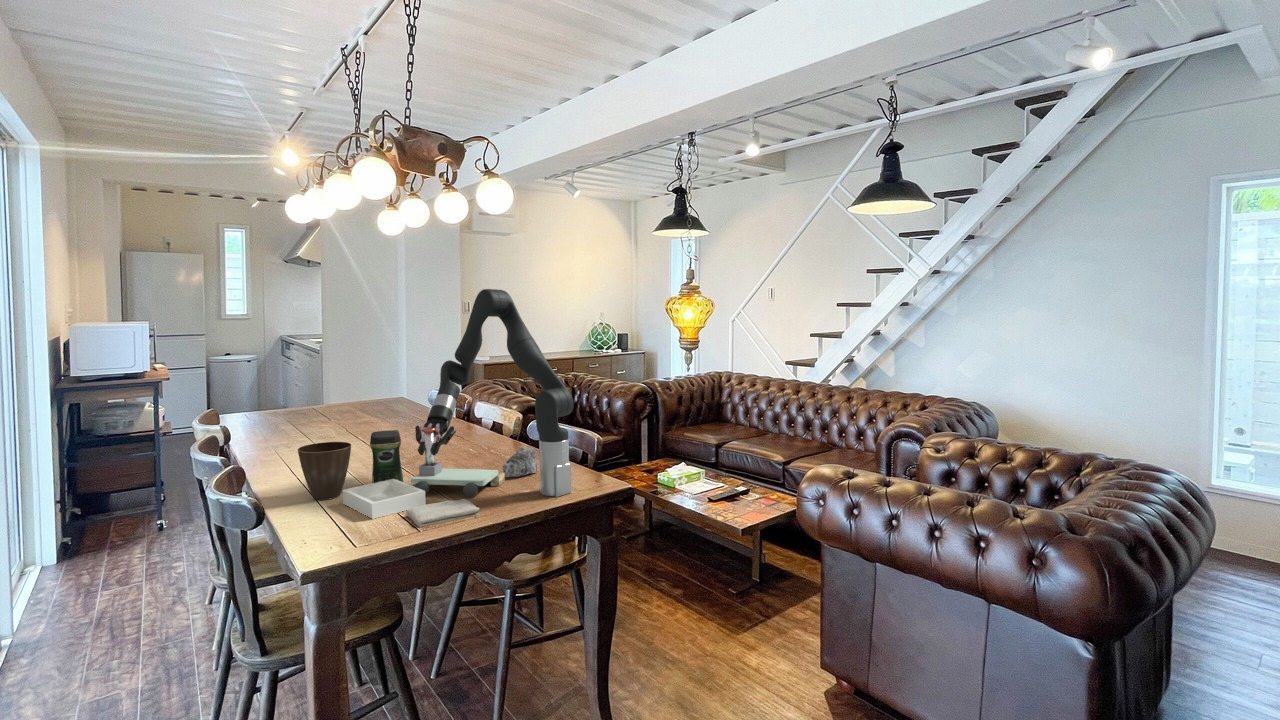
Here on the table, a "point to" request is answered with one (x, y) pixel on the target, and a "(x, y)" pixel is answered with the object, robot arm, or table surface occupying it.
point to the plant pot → (325, 467)
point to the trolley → (453, 478)
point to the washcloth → (442, 512)
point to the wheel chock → (498, 479)
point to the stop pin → (429, 445)
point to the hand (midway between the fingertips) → (427, 453)
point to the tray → (383, 498)
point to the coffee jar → (386, 456)
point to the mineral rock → (521, 463)
